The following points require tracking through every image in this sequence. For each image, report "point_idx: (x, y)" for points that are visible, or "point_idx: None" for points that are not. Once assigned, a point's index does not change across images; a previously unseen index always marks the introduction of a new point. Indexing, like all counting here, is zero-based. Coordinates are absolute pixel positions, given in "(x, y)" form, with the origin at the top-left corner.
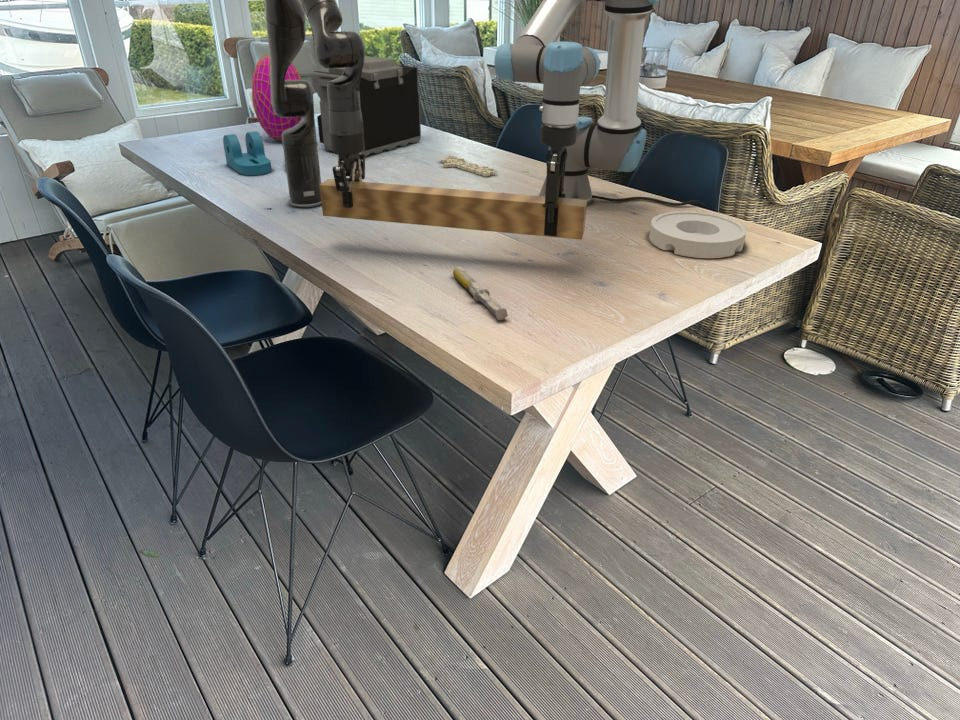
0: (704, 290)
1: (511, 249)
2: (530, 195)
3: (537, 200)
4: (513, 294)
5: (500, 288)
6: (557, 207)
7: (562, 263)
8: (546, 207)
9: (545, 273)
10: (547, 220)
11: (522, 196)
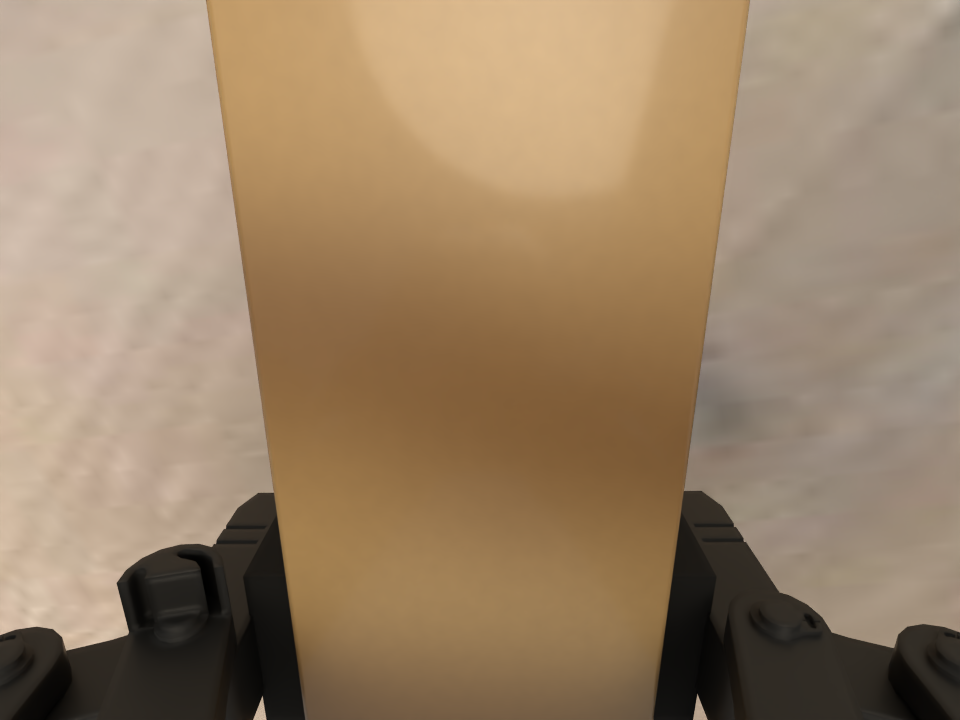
0: None
1: (753, 16)
2: (691, 273)
3: (402, 449)
4: (13, 188)
5: (55, 85)
6: (275, 713)
7: None
8: (248, 579)
9: None
10: (237, 509)
11: (585, 106)
